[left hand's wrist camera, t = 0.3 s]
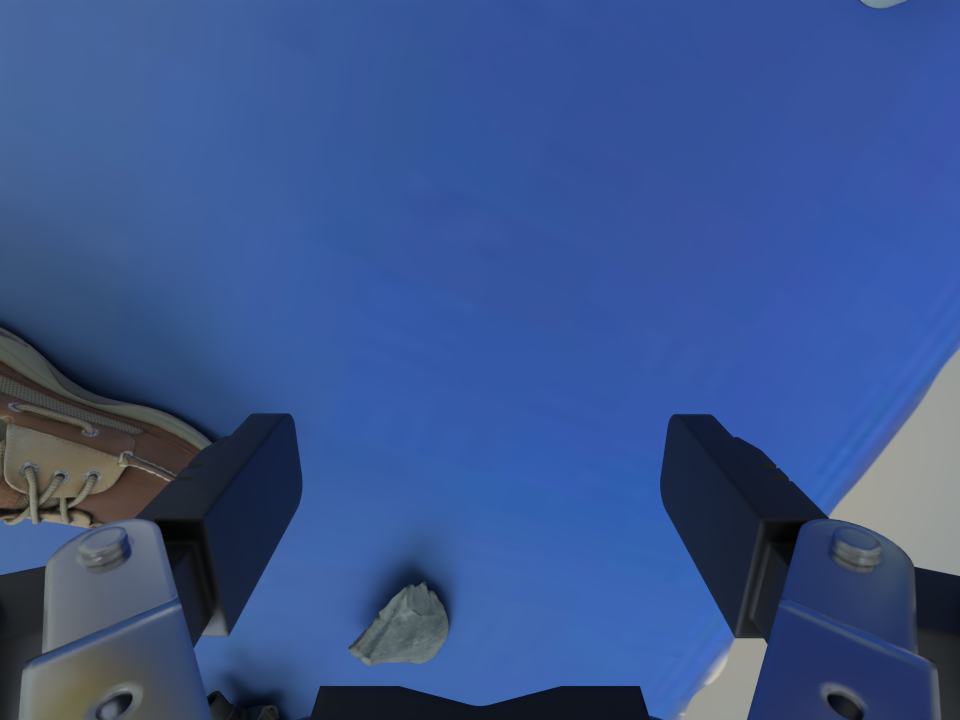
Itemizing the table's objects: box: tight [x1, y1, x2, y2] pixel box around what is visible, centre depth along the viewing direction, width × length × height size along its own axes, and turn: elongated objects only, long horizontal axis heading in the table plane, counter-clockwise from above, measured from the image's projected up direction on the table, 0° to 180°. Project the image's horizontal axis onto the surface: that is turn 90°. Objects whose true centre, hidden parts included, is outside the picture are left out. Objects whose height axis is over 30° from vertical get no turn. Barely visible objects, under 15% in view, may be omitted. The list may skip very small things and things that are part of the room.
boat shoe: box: [0, 327, 213, 529], centre depth 39 cm, size 11×29×10 cm, turn 58°
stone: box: [348, 582, 449, 666], centre depth 49 cm, size 11×4×10 cm
